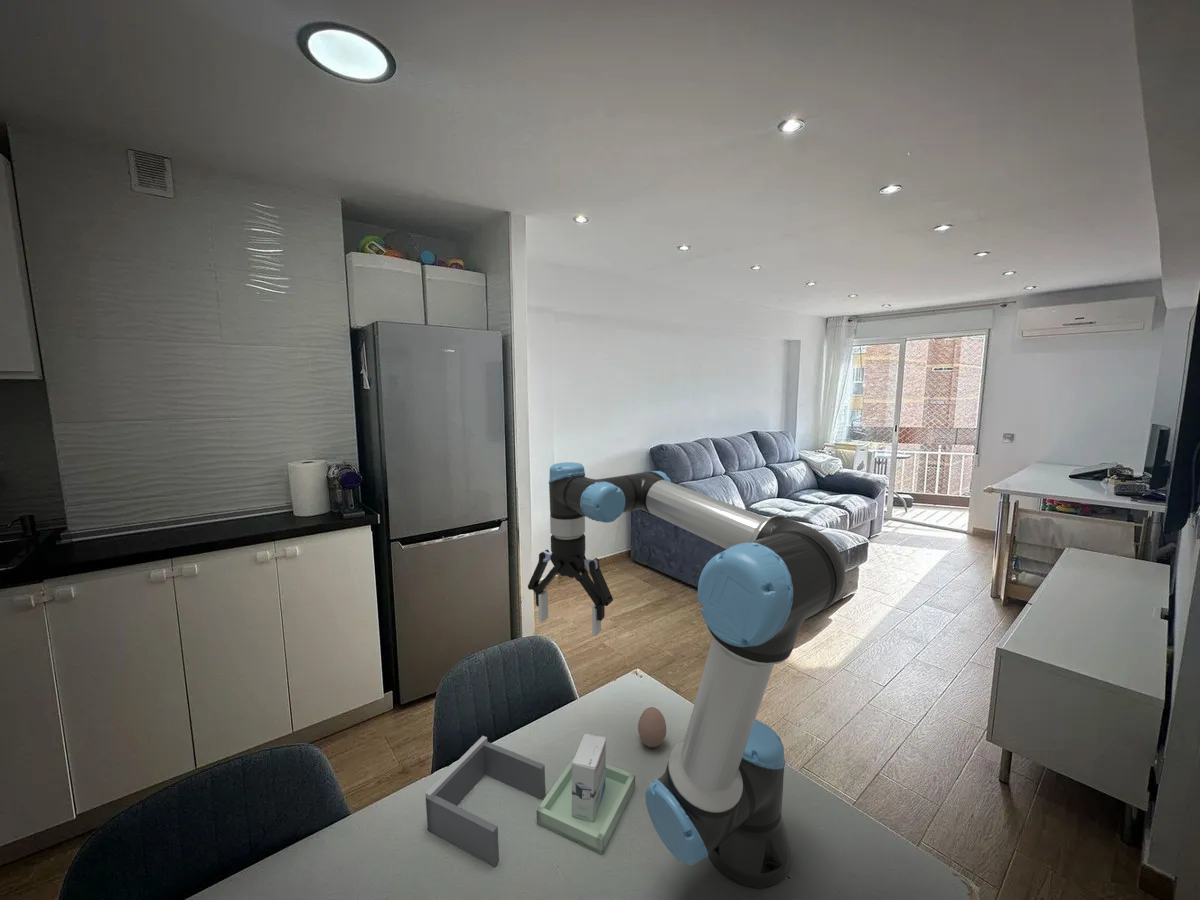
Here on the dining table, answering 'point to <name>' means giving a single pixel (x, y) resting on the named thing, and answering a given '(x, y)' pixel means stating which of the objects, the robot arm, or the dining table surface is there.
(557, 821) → the tray
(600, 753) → the ink box
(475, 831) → the dock
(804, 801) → the dining table surface
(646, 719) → the egg
